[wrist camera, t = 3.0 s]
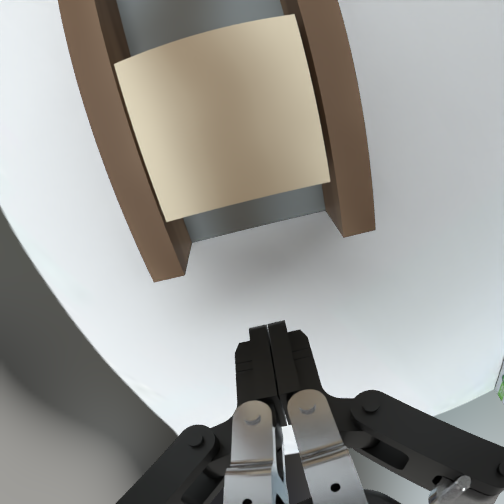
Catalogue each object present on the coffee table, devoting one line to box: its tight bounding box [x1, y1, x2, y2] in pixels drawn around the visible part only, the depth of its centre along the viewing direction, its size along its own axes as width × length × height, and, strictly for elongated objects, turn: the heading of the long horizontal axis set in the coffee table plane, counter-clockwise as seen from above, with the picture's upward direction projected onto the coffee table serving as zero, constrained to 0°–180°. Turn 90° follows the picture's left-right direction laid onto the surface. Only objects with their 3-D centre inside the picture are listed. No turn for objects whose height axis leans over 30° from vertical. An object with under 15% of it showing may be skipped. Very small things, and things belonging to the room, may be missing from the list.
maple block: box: [114, 14, 330, 222], centre depth 11 cm, size 6×6×4 cm
